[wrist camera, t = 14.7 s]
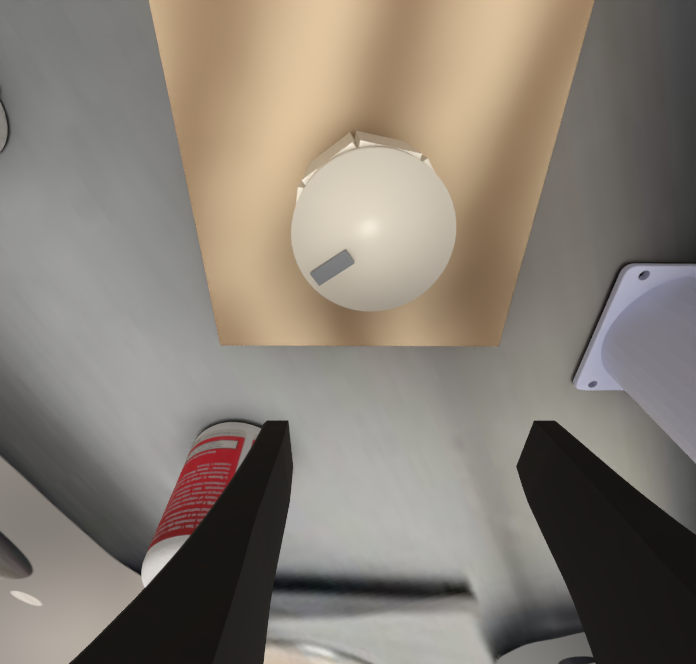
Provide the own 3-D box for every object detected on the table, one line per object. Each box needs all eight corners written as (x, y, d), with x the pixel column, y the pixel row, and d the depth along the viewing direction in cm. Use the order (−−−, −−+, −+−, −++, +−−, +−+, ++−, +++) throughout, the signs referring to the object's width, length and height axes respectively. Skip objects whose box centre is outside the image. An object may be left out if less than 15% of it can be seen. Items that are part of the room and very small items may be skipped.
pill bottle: (185, 462, 26) (98, 662, 17) (209, 406, 23) (120, 609, 14) (267, 486, 28) (229, 682, 19) (299, 436, 25) (273, 637, 16)
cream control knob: (386, 104, 14) (406, 105, 10) (446, 218, 16) (485, 262, 12) (279, 185, 16) (254, 219, 11) (349, 279, 18) (351, 339, 13)
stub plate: (586, -25, 13) (604, -34, 12) (492, 336, 21) (498, 346, 20) (153, -34, 13) (139, -44, 12) (225, 335, 21) (220, 345, 20)
